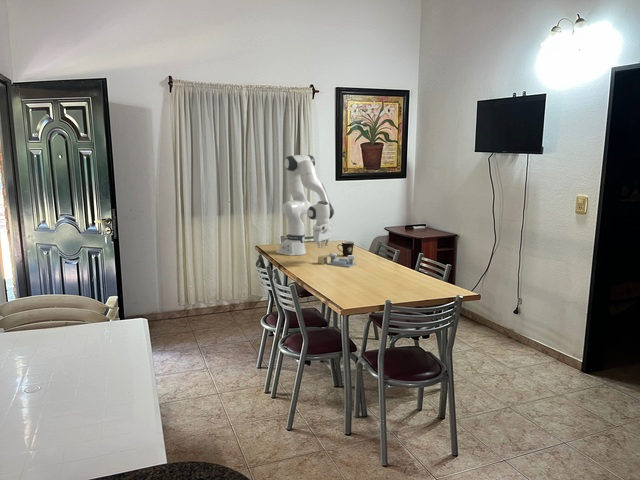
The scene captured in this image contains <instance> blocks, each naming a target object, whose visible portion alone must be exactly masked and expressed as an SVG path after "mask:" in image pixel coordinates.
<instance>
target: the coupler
mask: <svg viewBox="0 0 640 480" xmlns="http://www.w3.org/2000/svg"><path fill="white" fill-rule="evenodd" d="M327 263H328V256H326V255H319V256H317V265H328V264H327Z"/></svg>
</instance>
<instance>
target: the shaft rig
mask: <svg viewBox="0 0 640 480" xmlns="http://www.w3.org/2000/svg"><path fill="white" fill-rule="evenodd" d="M329 257H330V261H329V262H327V264H326V265H329V266H335V267H336V266H337V267H342V266H343V267H344V268H351V267H353V265H354V266H355V265H357V262H354V260H355V259H356V256H355V254H354V255H353V254H352V255H348V257H347V258H341V257H338V254H337V253H334V252H330V253H329ZM337 257H338V258H337ZM343 267H342V268H343Z"/></svg>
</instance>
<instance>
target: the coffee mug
mask: <svg viewBox="0 0 640 480" xmlns="http://www.w3.org/2000/svg"><path fill="white" fill-rule="evenodd" d="M354 244H355V243H354V241H350V240H349V241H348V240H344V241H343V240H342V242H341V244H340V243H339V244H338V245H337V247H336V248H337V249H338V250H339V252H340V253H342V256H343V257H346V258H348V255H353V253H354V252H353V251H354V246H355V245H354ZM339 246H341V247H342V248H341V249H339Z"/></svg>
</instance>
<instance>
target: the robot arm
mask: <svg viewBox="0 0 640 480" xmlns="http://www.w3.org/2000/svg"><path fill="white" fill-rule="evenodd" d="M283 164H284V167H285V169H286V170H287V191H288V193H289V195H290V196H291V197H292V200H289V201H286V202H284V203H283V205H282V206H281V211H282V213H283V215H284V216H285V217H286V219H287V222H288V234H287V235H285V237H286V239H285V240H284V241H283V242H281V243H280V244H279V248H278V249H277V250H276V251H275V254H280V255H285V256H291V257H292V256H302V255H306V254H307V252H306V246H305V240H306V236H305V235H306V233H305V224H304V222H303V221H302V219H301V216H302V215H303V216H304V215H306V214H307V217H308V218H309V219H310V220H313V221H315V220H316V223H315V224H314V225H313V227H312V230H313V231H312V238H313V242H314V243H316V244H317V248H318V249H321V248H322V245H321V244H322V242H324V241H325V242H324V246H325V247H326V246H329V242H330V239H332V238H333V229H332V227H331V223H330V220H331V219H332V218H333V217H334V214H335V210H334V207H333V206H332V204H331V201H330V199H329V196H328V193H327V191H326V187H325V186H324V184H323V182H321V181H320V180H319V178H318V176H317V171H316V169H315V165H316V160H315V158H314V156H313V155H310V154H296V155H288V156H286V157H285V159H284V163H283ZM304 188H305V189H307V190H310V191H312V192H314V193H316V194H317V195H318V196H319V199H320V200H319V201H317V202H316V204H313V205H312V204H311V202H310V201H309V200H308V199H307V197H306V194H305V191H304V190H305V189H304Z"/></svg>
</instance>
